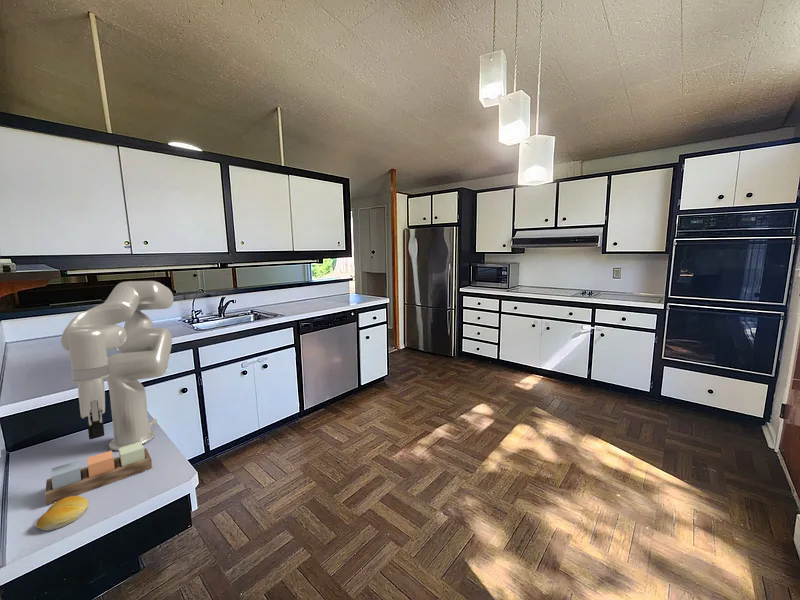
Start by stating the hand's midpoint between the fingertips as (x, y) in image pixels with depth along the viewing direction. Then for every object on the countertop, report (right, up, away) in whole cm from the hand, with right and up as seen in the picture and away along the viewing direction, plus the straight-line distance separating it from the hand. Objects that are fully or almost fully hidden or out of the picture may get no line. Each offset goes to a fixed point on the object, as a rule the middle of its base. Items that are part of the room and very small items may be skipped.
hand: (96, 436), depth 94 cm
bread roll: (+4, -15, -13) cm, 20 cm away
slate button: (-5, -11, -3) cm, 13 cm away
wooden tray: (0, -13, +2) cm, 13 cm away
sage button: (+5, -10, +7) cm, 13 cm away
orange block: (0, -11, +2) cm, 11 cm away
